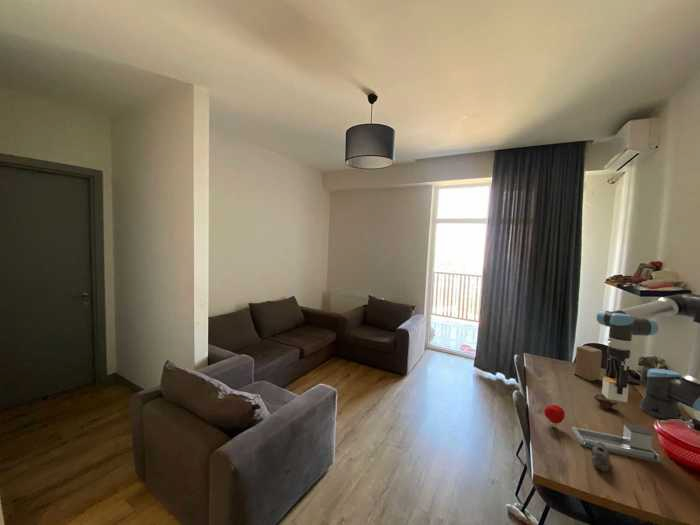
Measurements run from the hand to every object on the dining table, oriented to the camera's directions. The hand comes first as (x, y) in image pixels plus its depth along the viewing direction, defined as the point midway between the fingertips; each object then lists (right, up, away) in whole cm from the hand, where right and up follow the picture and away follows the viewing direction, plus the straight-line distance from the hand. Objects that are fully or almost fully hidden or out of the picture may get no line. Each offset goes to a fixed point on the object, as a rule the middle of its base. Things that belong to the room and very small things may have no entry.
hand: (614, 396), depth 131 cm
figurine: (+17, -17, +24) cm, 34 cm away
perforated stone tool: (-22, -18, -18) cm, 34 cm away
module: (0, 0, 0) cm, 0 cm away
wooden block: (+37, -15, +60) cm, 72 cm away
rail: (-8, -18, -8) cm, 21 cm away
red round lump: (-25, -17, +4) cm, 30 cm away
